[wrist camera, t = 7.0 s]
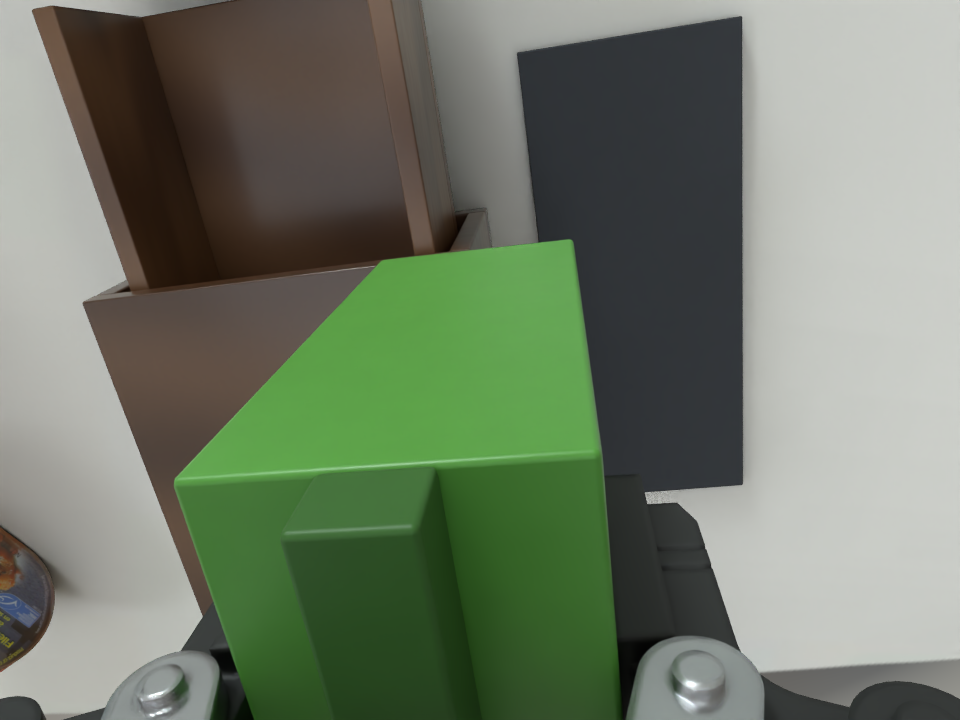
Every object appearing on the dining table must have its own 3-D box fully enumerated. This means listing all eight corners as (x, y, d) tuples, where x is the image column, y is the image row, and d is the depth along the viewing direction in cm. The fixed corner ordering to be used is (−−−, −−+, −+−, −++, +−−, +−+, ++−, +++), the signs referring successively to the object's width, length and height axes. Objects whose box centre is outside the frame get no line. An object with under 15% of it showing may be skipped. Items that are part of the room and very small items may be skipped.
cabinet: (190, 246, 33) (81, 302, 25) (486, 207, 31) (467, 253, 23) (273, 513, 39) (205, 625, 31) (527, 494, 37) (523, 608, 29)
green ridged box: (380, 259, 15) (105, 545, 6) (573, 238, 14) (612, 517, 5) (433, 542, 18) (305, 1044, 8) (598, 533, 17) (653, 1063, 8)
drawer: (58, -184, 26) (-95, -264, 20) (400, -262, 24) (351, -377, 18) (207, 296, 33) (130, 348, 27) (479, 262, 31) (463, 310, 25)
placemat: (517, 53, 29) (517, 52, 28) (739, 16, 28) (742, 15, 27) (568, 493, 37) (568, 498, 37) (741, 481, 36) (742, 485, 35)
